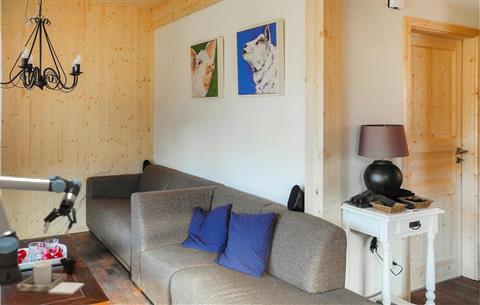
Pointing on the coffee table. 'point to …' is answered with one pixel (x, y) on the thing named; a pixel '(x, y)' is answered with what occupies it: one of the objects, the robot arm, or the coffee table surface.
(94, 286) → the coffee table surface
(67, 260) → the controller
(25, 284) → the birch frame
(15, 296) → the coffee table surface
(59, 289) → the coaster
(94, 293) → the coffee table surface
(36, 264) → the candle holder
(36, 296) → the coffee table surface
